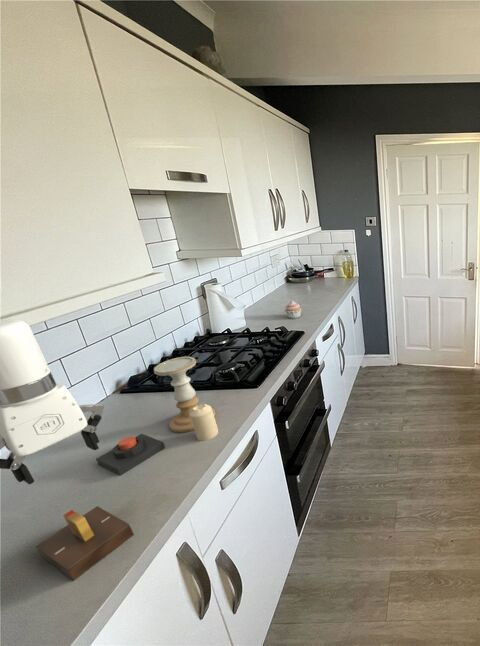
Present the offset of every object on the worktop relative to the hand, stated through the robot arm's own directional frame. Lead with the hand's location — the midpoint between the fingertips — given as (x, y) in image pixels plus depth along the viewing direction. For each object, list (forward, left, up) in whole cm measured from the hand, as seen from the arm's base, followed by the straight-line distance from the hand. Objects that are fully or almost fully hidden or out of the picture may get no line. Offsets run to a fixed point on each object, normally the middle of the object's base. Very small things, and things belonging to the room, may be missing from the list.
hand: (62, 463), depth 68 cm
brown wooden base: (-3, -3, -18) cm, 18 cm away
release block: (+16, +18, -18) cm, 30 cm away
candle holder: (+33, +18, -18) cm, 42 cm away
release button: (+16, +18, -14) cm, 28 cm away
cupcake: (+120, +59, -18) cm, 135 cm away
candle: (+30, +7, -18) cm, 36 cm away
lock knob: (-3, -3, -15) cm, 15 cm away
